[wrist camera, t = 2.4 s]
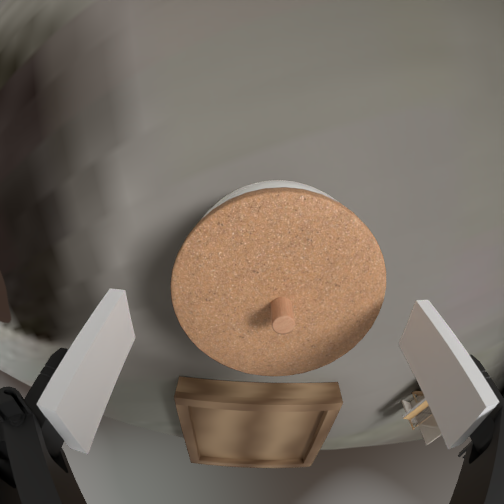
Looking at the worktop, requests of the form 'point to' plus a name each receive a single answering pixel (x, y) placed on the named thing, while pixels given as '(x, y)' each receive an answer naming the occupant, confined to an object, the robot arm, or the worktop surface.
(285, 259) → the lidded jar
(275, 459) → the wooden tray
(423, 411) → the architectural model
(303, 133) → the worktop surface
